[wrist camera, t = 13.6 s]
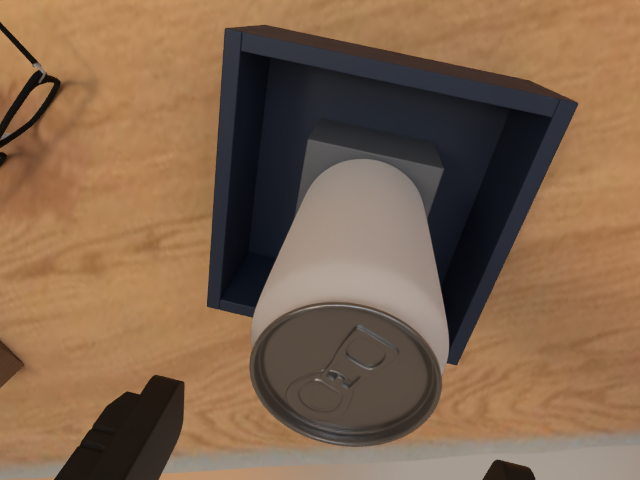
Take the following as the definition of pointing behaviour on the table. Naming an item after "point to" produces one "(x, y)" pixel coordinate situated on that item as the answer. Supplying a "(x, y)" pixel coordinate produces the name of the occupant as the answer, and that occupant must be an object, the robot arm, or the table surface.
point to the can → (353, 312)
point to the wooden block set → (8, 364)
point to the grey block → (371, 156)
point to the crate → (383, 115)
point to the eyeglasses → (25, 96)
